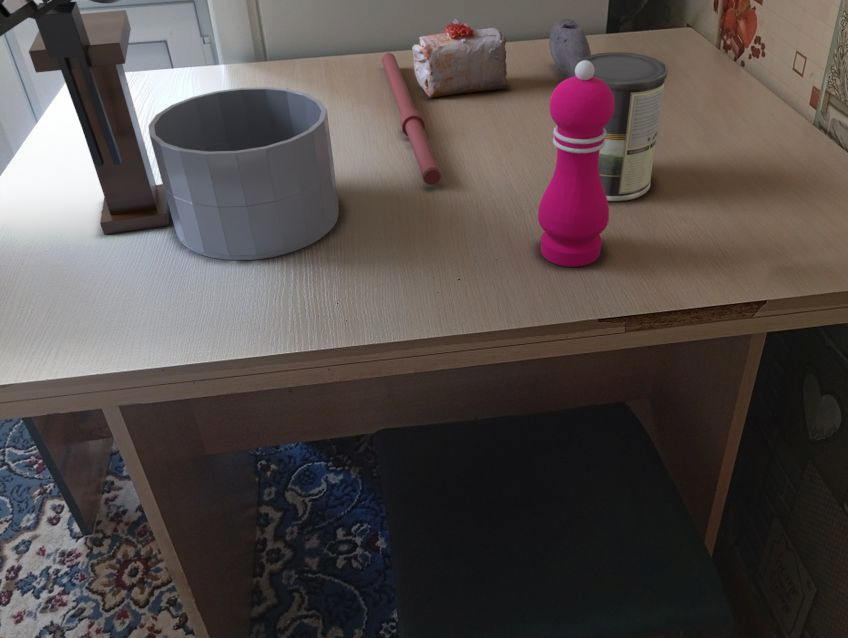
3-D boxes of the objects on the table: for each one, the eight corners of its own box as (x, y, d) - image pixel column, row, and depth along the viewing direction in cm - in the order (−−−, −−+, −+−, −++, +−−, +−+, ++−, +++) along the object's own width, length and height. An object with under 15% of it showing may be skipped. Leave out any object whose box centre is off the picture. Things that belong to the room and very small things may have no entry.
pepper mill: (558, 228, 87) (570, 43, 75) (616, 247, 84) (639, 57, 72) (523, 256, 83) (530, 64, 70) (583, 277, 79) (602, 80, 67)
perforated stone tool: (597, 90, 121) (601, 43, 117) (564, 91, 121) (566, 45, 117) (576, 59, 133) (580, 16, 129) (546, 60, 133) (548, 17, 128)
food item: (423, 102, 118) (420, 34, 112) (412, 84, 124) (408, 19, 118) (510, 92, 121) (511, 26, 115) (494, 75, 127) (495, 11, 121)
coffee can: (575, 204, 92) (584, 84, 83) (559, 166, 100) (566, 53, 91) (661, 199, 92) (680, 79, 84) (638, 162, 100) (653, 49, 92)
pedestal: (104, 199, 94) (44, 16, 82) (173, 190, 96) (125, 9, 83) (97, 248, 85) (28, 51, 72) (173, 237, 87) (119, 42, 74)
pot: (157, 263, 83) (125, 156, 75) (197, 185, 97) (174, 89, 90) (330, 257, 83) (315, 150, 76) (345, 181, 97) (333, 85, 90)
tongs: (39, 2, 70) (32, 14, 69) (76, 1, 71) (71, 13, 69) (94, 157, 82) (90, 171, 80) (126, 155, 82) (123, 169, 81)
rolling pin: (445, 187, 96) (444, 163, 94) (419, 190, 95) (418, 165, 93) (398, 68, 131) (397, 48, 129) (379, 69, 130) (378, 50, 128)
